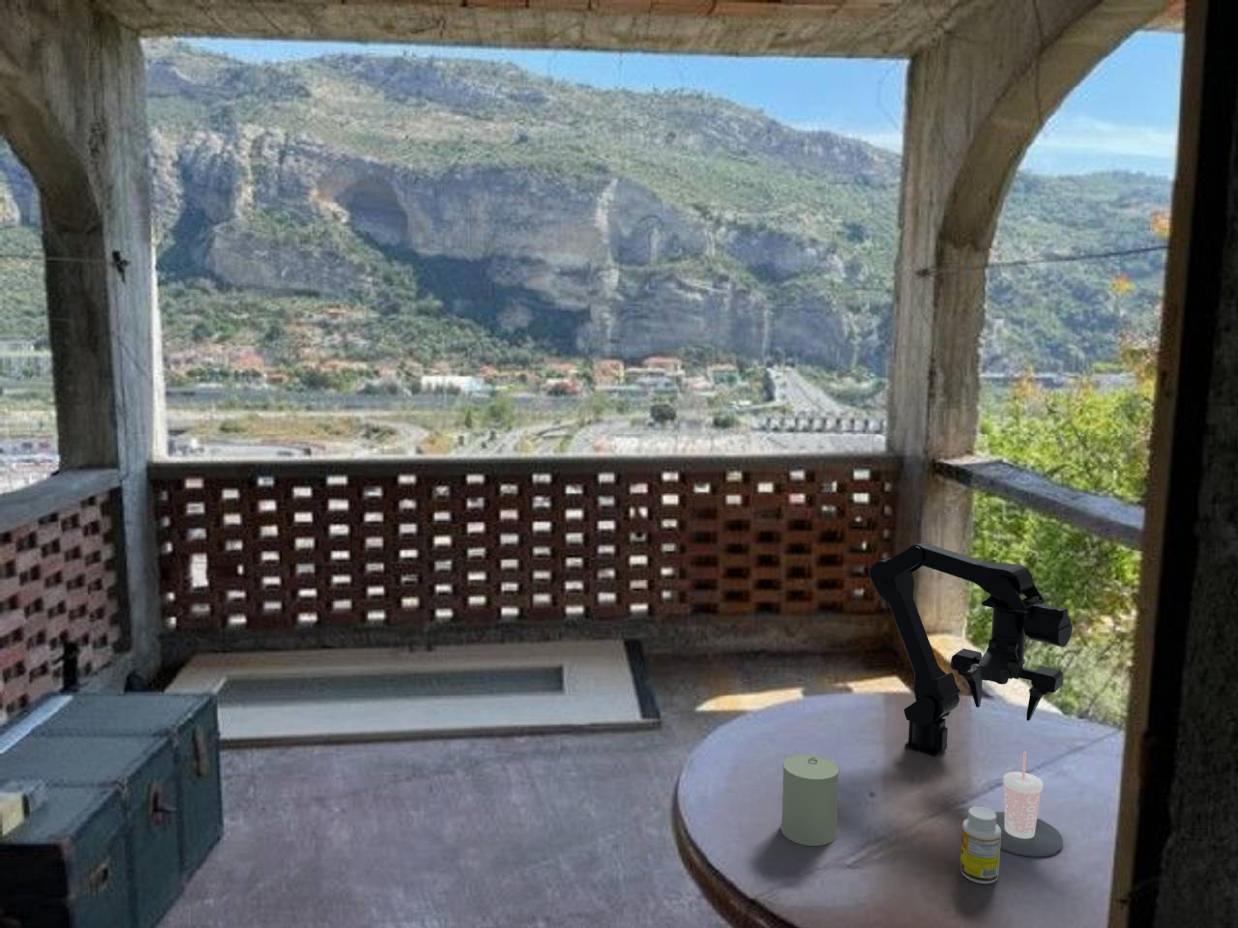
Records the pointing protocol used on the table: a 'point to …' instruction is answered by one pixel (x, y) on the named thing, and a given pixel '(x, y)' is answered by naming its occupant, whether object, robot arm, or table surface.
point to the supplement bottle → (980, 846)
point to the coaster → (1031, 840)
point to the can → (809, 799)
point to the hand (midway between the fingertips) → (1002, 713)
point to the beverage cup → (1021, 802)
